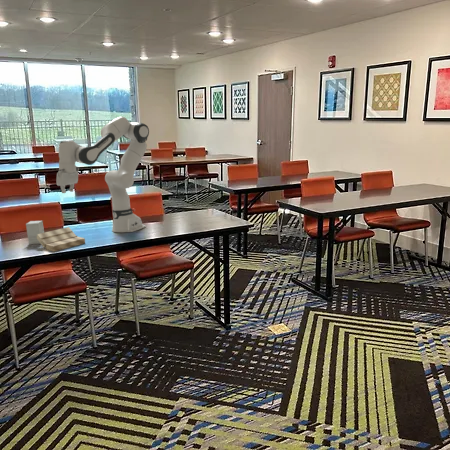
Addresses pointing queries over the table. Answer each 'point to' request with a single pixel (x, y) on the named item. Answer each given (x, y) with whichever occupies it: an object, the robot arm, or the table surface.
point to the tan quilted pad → (55, 235)
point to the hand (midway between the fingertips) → (67, 192)
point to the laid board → (65, 243)
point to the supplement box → (34, 231)
